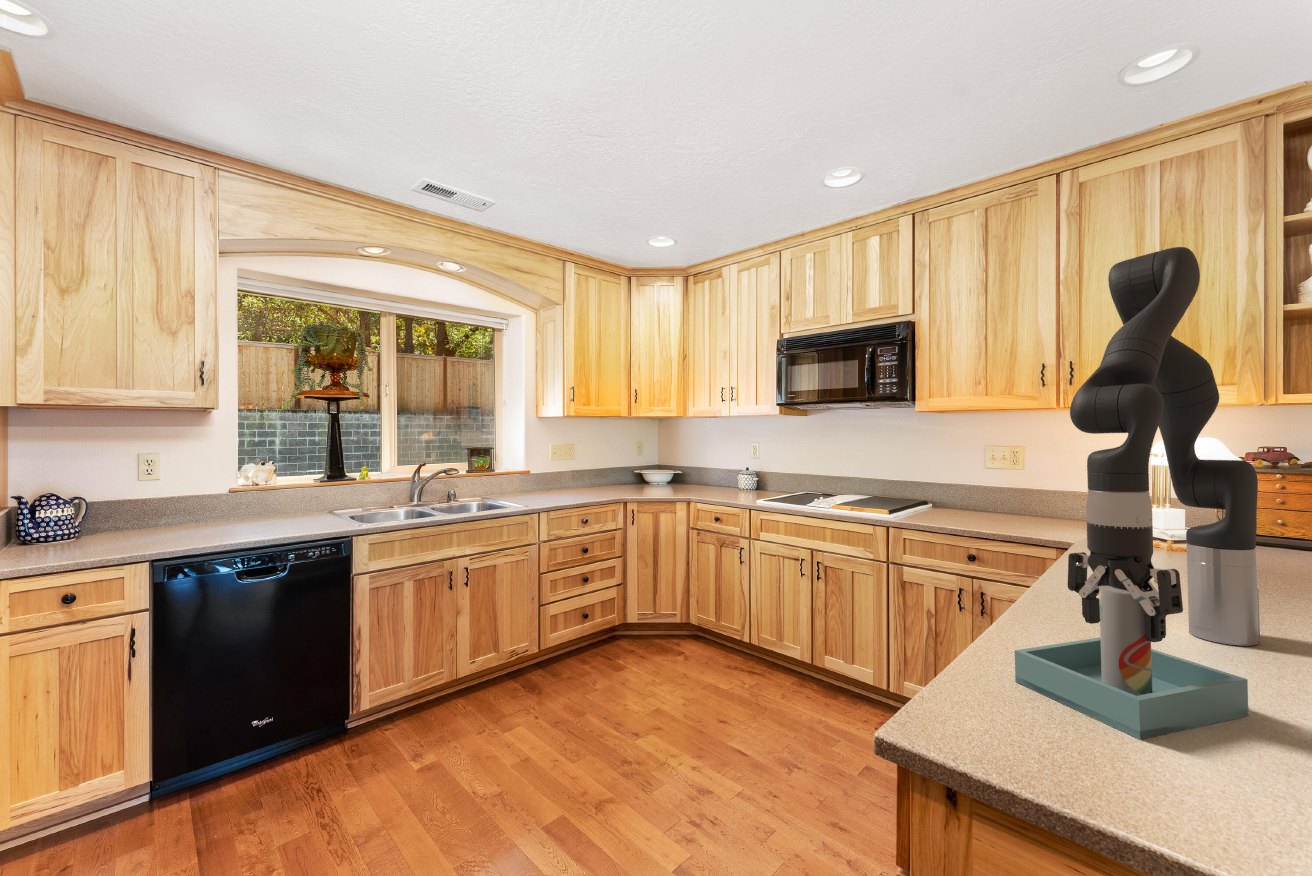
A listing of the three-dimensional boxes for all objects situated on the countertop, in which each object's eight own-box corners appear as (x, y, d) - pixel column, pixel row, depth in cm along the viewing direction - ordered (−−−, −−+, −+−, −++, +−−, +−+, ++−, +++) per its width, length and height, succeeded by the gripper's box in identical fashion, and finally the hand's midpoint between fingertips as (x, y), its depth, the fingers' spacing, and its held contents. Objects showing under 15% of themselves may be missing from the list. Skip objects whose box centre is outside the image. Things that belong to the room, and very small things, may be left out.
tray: (1110, 665, 94) (1109, 635, 94) (1248, 715, 77) (1247, 678, 77) (1015, 681, 89) (1014, 650, 89) (1140, 739, 71) (1139, 700, 72)
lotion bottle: (1162, 702, 79) (1158, 559, 79) (1115, 699, 80) (1111, 558, 80) (1137, 685, 85) (1133, 551, 85) (1093, 682, 86) (1090, 550, 86)
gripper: (1194, 526, 77) (1197, 644, 77) (1089, 513, 91) (1092, 614, 91) (1153, 529, 75) (1157, 651, 75) (1053, 516, 89) (1055, 619, 89)
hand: (1121, 631), depth 83 cm, fingers open, 8 cm apart
